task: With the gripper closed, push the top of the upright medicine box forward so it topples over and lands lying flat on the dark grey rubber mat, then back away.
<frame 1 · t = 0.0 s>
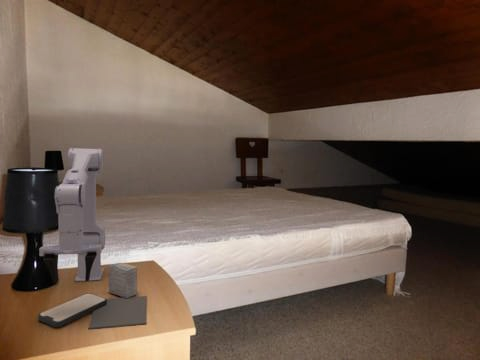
hand: (71, 280, 93), 10 cm above the nightstand, tool pointing down, fingers open, 7 cm apart
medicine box: (123, 294, 109), on the nightstand, touching mat
phone case: (74, 312, 97), on the nightstand, touching mat
mat: (120, 311, 98), on the nightstand
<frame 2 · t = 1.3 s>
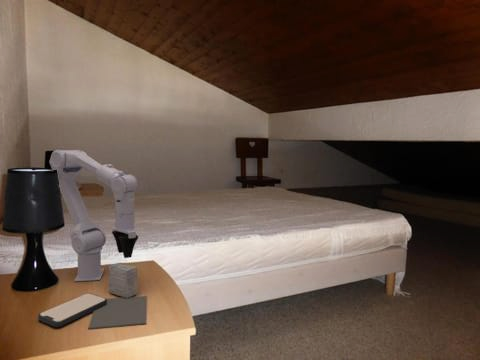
hand: (124, 254, 114), 10 cm above the nightstand, tool pointing down, fingers open, 5 cm apart
nothing on the nightstand moved.
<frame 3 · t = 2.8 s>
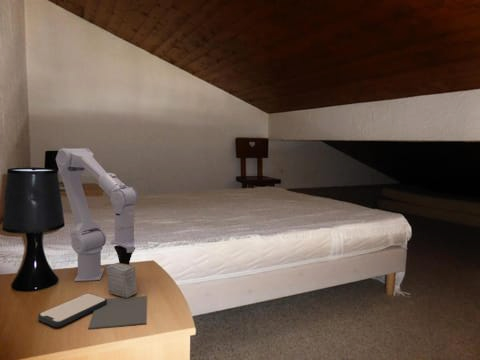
hand: (124, 268, 113), 6 cm above the nightstand, tool pointing down, fingers closed
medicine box: (123, 294, 109), on the nightstand, touching gripper, mat
everything else where it was.
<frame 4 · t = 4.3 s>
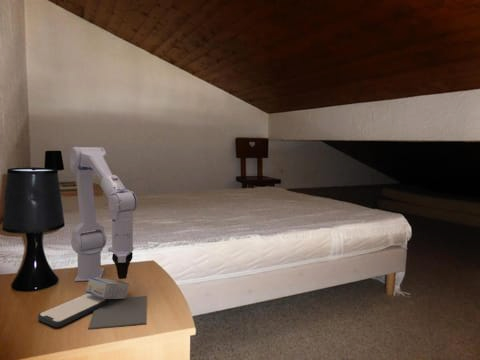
hand: (122, 277, 105), 6 cm above the nightstand, tool pointing down, fingers closed
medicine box: (119, 288, 108), point 2 cm above the nightstand, touching mat, phone case
phone case: (74, 312, 97), on the nightstand, touching mat, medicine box
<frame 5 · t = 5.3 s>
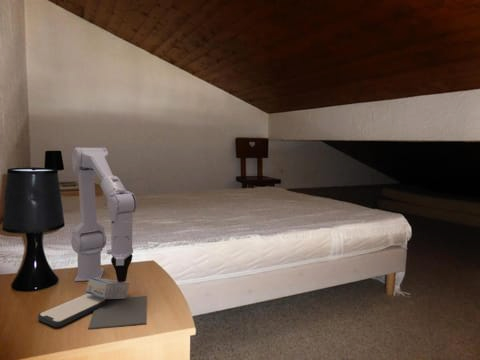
hand: (121, 280, 103), 6 cm above the nightstand, tool pointing down, fingers closed
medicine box: (119, 288, 108), point 2 cm above the nightstand, touching phone case
everything else where it was.
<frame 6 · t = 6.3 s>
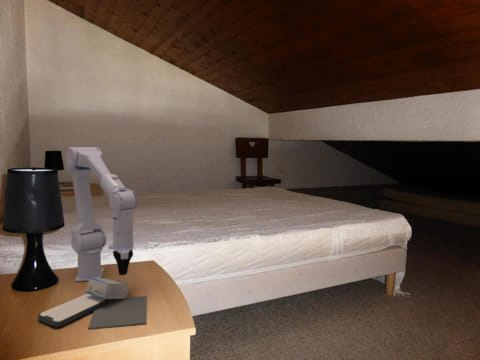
hand: (122, 274, 108), 6 cm above the nightstand, tool pointing down, fingers closed
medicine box: (119, 288, 108), point 2 cm above the nightstand, touching mat, phone case
everything else where it was.
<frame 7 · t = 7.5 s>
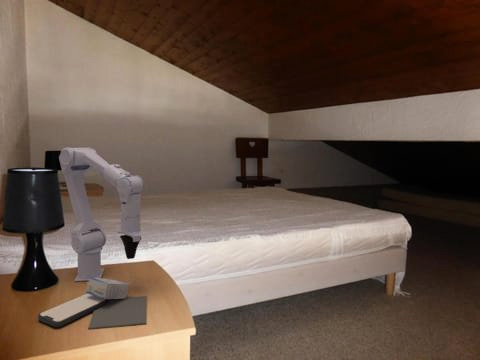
hand: (130, 258, 111), 10 cm above the nightstand, tool pointing down, fingers closed
nothing on the nightstand moved.
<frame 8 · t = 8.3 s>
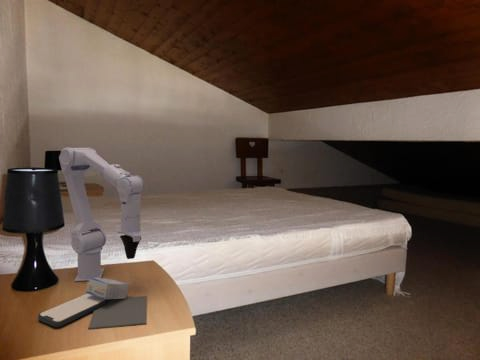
hand: (130, 258, 111), 10 cm above the nightstand, tool pointing down, fingers closed
nothing on the nightstand moved.
at the end: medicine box tilted 69°; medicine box inside the target area (7.6 cm from its centre), point 2.2 cm above the nightstand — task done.
